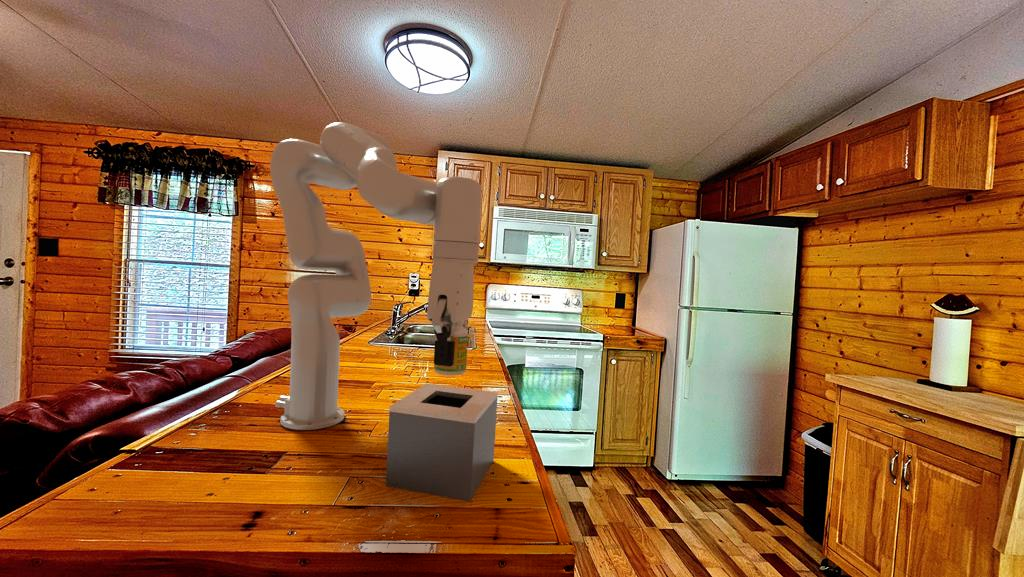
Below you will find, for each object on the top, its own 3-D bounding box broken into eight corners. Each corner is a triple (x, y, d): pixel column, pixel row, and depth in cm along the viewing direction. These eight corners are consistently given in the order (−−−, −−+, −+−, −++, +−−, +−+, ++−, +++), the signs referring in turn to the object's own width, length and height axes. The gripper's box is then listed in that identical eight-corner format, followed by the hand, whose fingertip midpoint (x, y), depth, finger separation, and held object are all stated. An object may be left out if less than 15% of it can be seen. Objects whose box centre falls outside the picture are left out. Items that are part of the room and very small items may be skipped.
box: (385, 485, 66) (389, 406, 66) (422, 449, 80) (426, 383, 79) (470, 501, 64) (475, 418, 63) (493, 460, 77) (497, 392, 77)
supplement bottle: (460, 377, 68) (463, 317, 67) (428, 373, 69) (431, 315, 68) (470, 370, 73) (473, 314, 73) (440, 366, 74) (443, 312, 74)
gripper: (452, 255, 79) (447, 350, 80) (412, 250, 62) (406, 370, 63) (490, 257, 78) (485, 354, 78) (460, 252, 61) (453, 375, 62)
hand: (450, 360), depth 71 cm, fingers closed on supplement bottle, 5 cm apart
